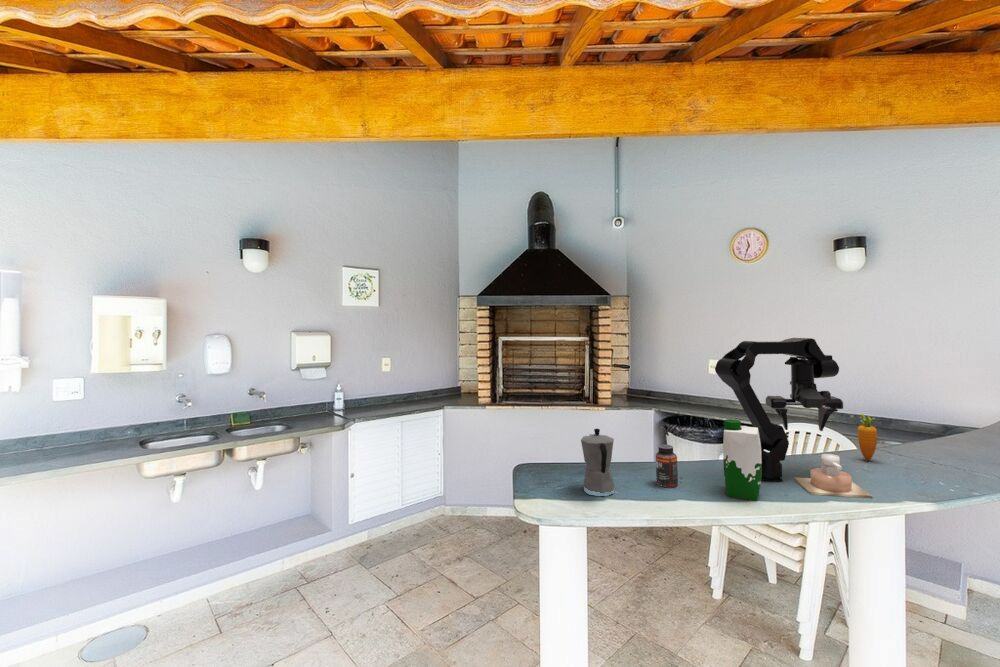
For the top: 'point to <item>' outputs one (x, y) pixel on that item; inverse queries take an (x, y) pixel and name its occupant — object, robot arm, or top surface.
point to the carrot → (867, 437)
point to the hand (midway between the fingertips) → (803, 430)
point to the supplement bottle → (666, 466)
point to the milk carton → (742, 460)
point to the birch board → (813, 490)
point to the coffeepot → (598, 462)
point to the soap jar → (831, 479)
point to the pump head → (831, 460)
